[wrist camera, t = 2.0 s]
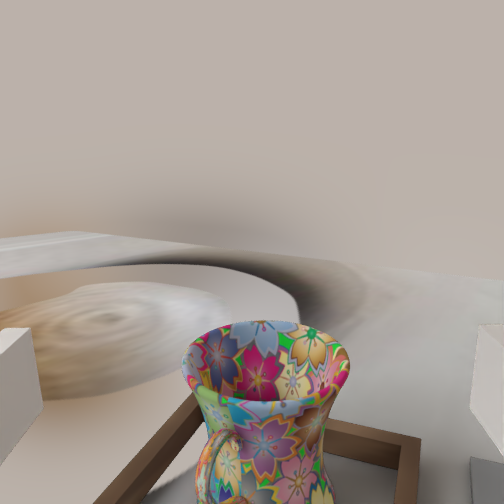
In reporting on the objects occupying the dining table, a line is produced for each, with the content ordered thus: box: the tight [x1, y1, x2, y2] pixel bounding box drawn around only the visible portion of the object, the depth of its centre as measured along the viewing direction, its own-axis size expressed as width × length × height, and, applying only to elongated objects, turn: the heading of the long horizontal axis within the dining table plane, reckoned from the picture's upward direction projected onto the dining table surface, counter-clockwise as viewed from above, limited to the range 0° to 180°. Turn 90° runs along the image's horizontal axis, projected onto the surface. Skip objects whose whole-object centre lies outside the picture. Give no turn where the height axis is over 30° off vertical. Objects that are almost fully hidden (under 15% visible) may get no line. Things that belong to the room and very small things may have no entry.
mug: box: [182, 321, 350, 504], centre depth 27 cm, size 12×9×11 cm
